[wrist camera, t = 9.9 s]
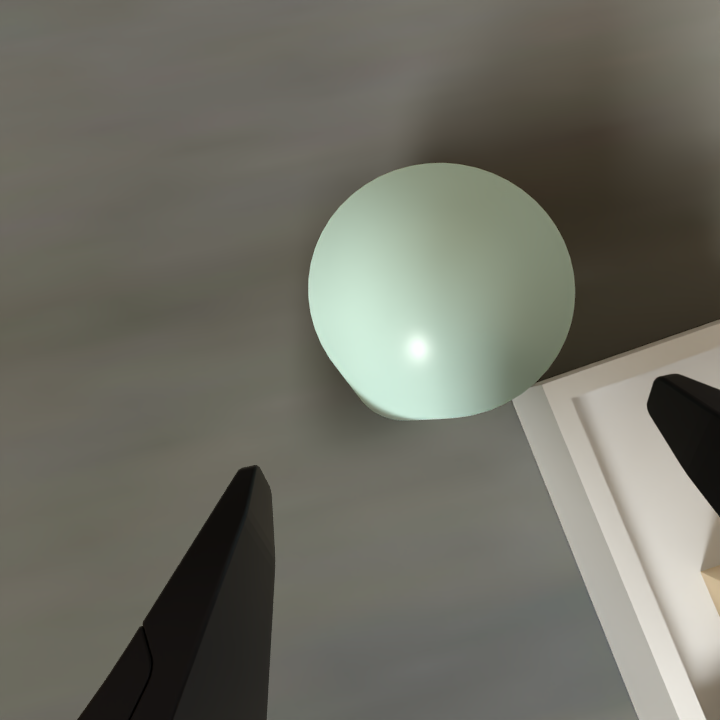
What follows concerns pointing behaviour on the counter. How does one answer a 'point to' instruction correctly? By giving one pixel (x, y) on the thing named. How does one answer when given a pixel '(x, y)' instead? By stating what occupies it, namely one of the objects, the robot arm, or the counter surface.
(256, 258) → the counter surface
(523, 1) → the counter surface
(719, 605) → the cube
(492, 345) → the canister
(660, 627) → the tote
